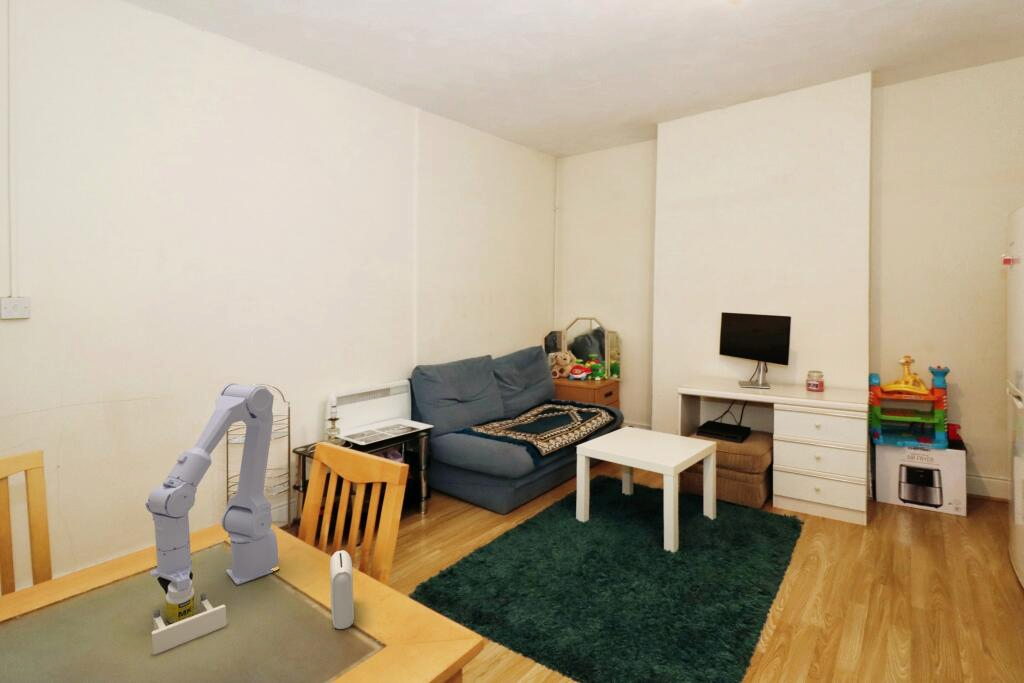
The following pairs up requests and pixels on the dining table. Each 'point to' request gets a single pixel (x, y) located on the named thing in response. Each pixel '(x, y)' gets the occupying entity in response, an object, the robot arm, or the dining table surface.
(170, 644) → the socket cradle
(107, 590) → the dining table surface
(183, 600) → the supplement bottle
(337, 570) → the photo printer
